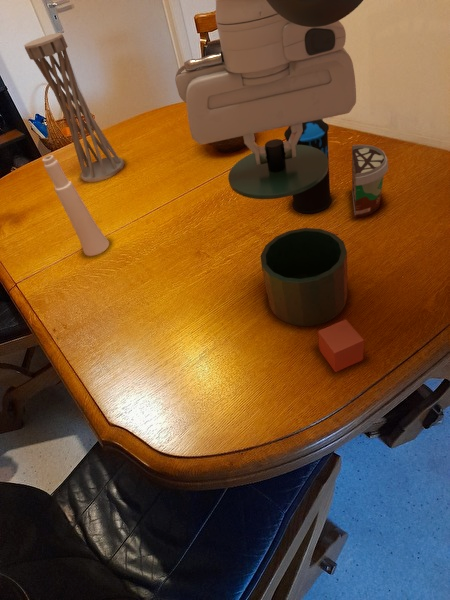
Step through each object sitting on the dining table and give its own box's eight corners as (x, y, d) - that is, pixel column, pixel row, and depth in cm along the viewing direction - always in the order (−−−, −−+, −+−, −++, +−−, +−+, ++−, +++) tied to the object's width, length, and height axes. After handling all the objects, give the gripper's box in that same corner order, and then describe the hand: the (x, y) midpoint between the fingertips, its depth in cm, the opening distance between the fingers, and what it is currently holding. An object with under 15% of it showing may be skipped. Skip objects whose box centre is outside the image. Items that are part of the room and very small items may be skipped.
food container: (389, 219, 77) (393, 171, 70) (355, 222, 79) (356, 175, 72) (382, 185, 85) (385, 139, 79) (351, 188, 87) (351, 144, 80)
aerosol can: (285, 201, 89) (274, 108, 75) (319, 188, 90) (313, 94, 76) (304, 218, 83) (294, 121, 69) (339, 204, 84) (337, 105, 70)
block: (346, 338, 60) (345, 318, 57) (363, 359, 57) (364, 340, 54) (319, 350, 59) (317, 331, 56) (335, 372, 56) (334, 353, 53)
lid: (319, 144, 60) (317, 112, 57) (338, 191, 50) (337, 155, 47) (229, 163, 62) (222, 133, 58) (230, 211, 52) (223, 178, 49)
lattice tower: (74, 175, 125) (9, 48, 101) (110, 156, 130) (56, 30, 106) (94, 186, 116) (27, 49, 92) (132, 165, 121) (78, 30, 97)
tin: (338, 267, 71) (336, 222, 64) (354, 319, 62) (354, 273, 55) (266, 278, 73) (258, 236, 66) (272, 331, 64) (263, 288, 57)
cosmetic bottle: (112, 247, 91) (65, 155, 76) (88, 260, 90) (35, 168, 75) (105, 236, 95) (59, 147, 80) (81, 248, 94) (30, 159, 79)
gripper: (168, 72, 44) (200, 186, 53) (361, 25, 41) (358, 154, 51) (173, 57, 48) (201, 164, 58) (347, 13, 46) (347, 134, 55)
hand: (276, 159), depth 54 cm, fingers closed on lid, 2 cm apart
